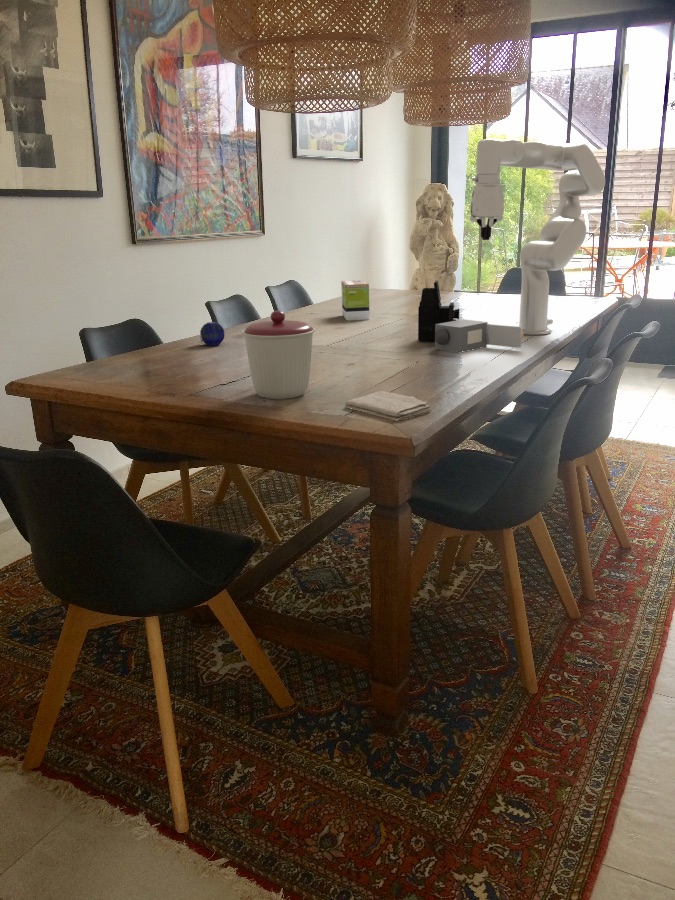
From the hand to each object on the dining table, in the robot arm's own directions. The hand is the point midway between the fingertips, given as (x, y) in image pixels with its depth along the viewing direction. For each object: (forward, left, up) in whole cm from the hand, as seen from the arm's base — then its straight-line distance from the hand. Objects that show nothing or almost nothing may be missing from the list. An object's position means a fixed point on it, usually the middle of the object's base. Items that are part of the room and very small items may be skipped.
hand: (485, 239), depth 246 cm
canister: (+95, +11, -33) cm, 101 cm away
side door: (+8, +15, -32) cm, 37 cm away
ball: (+68, -63, -33) cm, 98 cm away
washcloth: (+87, +40, -34) cm, 101 cm away
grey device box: (+16, +4, -33) cm, 37 cm away
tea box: (-8, -72, -33) cm, 80 cm away
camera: (+11, -10, -33) cm, 36 cm away
